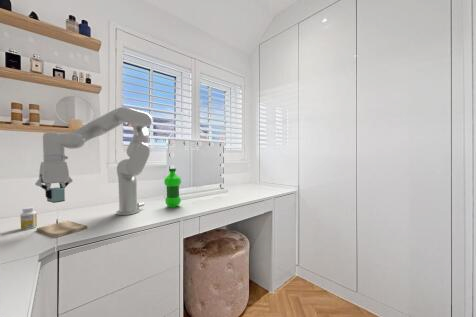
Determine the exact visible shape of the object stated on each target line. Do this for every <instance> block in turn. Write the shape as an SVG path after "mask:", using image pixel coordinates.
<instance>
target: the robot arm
mask: <svg viewBox="0 0 476 317" xmlns="http://www.w3.org/2000/svg"><path fill="white" fill-rule="evenodd" d="M124 123H125V124H126V123H128V124H130V125H131V127H132V129H133V135H132V138H131V141H130V142H129V143H128V146H127V149H126V155H127V156H128V157H129V158H128V159H126V158H125V159H122V160H120V161H119V162H118V163H117V166H116V174H117V178H118V180H117V181H118V210H117V211H116V215H118V216H127V215H128V216H129V215H135V214H136V213H140V211H141V207H144V206H145V203H144V202H142V203H138V192H137V190H138V186H137V185H138V184H137V183H138V182H137V176H139V175H140V174H141V173H142V172H143V170H144V168H145V166H146V164H147V162H148V159H149V157H150V154H151V149H150V147H149V145H148V144H147V143H148V140H149V134H150V132H149V130H148V127H150V126H151V125H152V123H153V118H152V116H151V115H150V114H149V113H148V112H145V111H141V110H136V109H133V108H131V107H124V106H122V107H121V106H120V107H117V108H115V109H112V110H111V111H109V112H107V113H105V114H103V115H101V116H99V117H97V118H96V119H93V120H91V121H89V122H88V123H87V124H85V125H83V126H81V127H79V128H78V129H76V130H75V129H74V131H72V132H70V133H62V132H61V133H60V132H44V133H43V135H42V153H43V155H42V156H43V161H42V162H40V165H39V170H38V171H39V173H38V180H36V182H35V186H38V188H39V187H40V188H41V189H43V190H44V191H45V197H46V199H47V198H48V199H51V198H52V194H51V190H50V188H52V187H51V186H52V184H57V183H58V185H59V188H64V190H65V189H66V187H68V185H69V184H71V183H73V179H72V177H71V176H70V173H69V172H70V171H69V167H68V163H67V161H66V160H68V159H69V157H68V155H67V156H66V155H65V154H66V153H65V148H67V149H69V150H73V149H79V148H82V147H83V146H84V145H85V143H86V142H89V141H90V140H92V139H94V138H97V137H100V136H103V135H105V134H107V133H108V132H110V131H112V130H114V129H115V128H118V127H120V126H121V125H123V124H124Z"/></svg>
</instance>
